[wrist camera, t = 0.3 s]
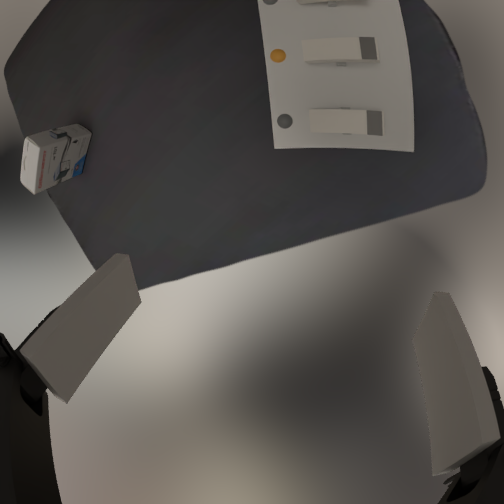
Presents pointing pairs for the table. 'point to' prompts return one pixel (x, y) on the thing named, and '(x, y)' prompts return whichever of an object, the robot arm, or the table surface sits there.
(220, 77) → the table surface
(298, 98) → the panel
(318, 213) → the table surface
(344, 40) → the block
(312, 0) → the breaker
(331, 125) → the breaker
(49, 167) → the ink box
